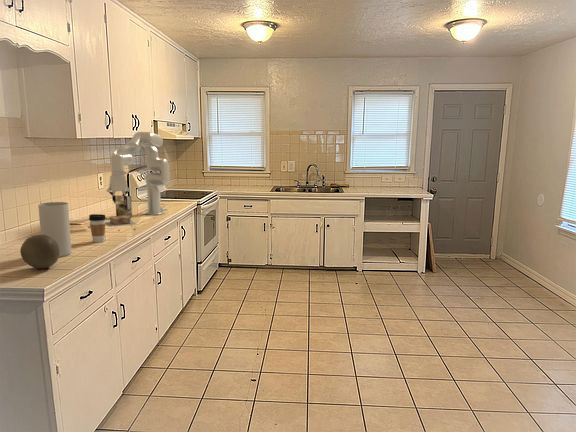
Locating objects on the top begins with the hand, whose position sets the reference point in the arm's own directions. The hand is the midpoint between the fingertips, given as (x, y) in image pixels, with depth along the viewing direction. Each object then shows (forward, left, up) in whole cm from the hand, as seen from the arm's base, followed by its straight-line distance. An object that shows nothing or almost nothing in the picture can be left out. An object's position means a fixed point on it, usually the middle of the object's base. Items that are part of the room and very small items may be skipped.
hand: (119, 201), depth 273 cm
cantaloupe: (+54, +79, -16) cm, 97 cm away
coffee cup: (+22, +39, -16) cm, 48 cm away
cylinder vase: (+45, +57, -16) cm, 74 cm away
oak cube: (0, 0, -2) cm, 2 cm away
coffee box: (-9, -23, -16) cm, 30 cm away
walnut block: (0, 0, -15) cm, 15 cm away
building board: (0, 0, -16) cm, 16 cm away
